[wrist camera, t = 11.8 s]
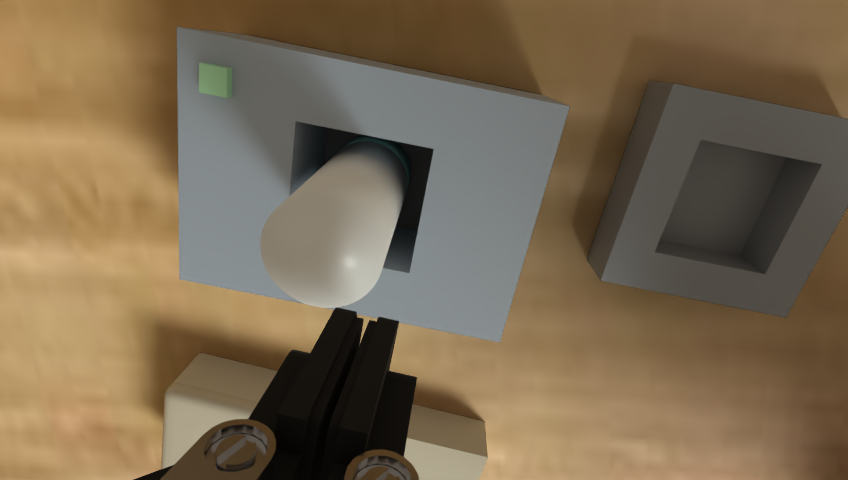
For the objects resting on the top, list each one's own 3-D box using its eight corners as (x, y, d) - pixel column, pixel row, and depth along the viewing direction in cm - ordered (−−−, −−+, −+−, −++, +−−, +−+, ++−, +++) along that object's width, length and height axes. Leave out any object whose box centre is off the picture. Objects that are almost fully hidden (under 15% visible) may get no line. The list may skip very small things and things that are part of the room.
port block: (542, 94, 21) (572, 107, 16) (490, 284, 25) (500, 347, 20) (243, 34, 21) (170, 25, 16) (235, 233, 25) (174, 283, 20)
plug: (416, 141, 22) (392, 206, 13) (404, 212, 23) (374, 317, 14) (341, 127, 22) (262, 183, 13) (334, 198, 23) (257, 296, 14)
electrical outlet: (453, 557, 28) (157, 487, 27) (453, 497, 32) (193, 435, 31) (488, 471, 25) (161, 392, 25) (484, 417, 29) (200, 347, 28)
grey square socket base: (843, 119, 21) (891, 127, 19) (754, 292, 24) (785, 317, 22) (649, 80, 21) (673, 83, 19) (586, 259, 24) (600, 280, 22)
